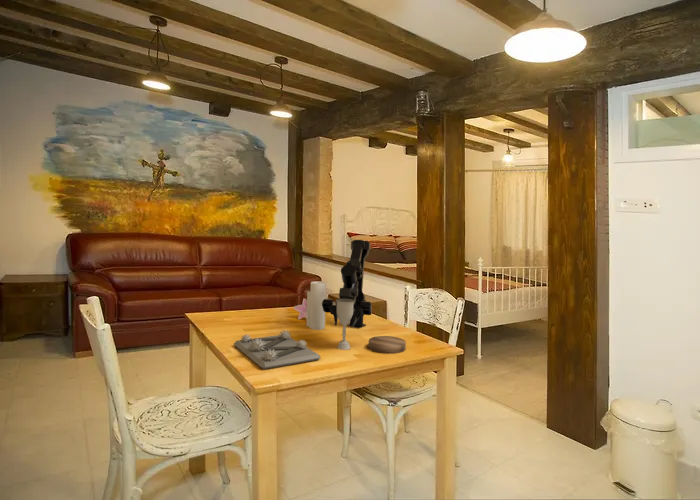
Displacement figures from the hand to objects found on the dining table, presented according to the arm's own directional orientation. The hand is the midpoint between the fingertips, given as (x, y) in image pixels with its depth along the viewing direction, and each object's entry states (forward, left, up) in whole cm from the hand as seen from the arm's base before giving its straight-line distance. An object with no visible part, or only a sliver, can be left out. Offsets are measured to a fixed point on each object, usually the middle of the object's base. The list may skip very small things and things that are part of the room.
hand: (343, 326), depth 164 cm
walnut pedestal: (-11, +12, -9) cm, 19 cm away
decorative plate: (+18, -17, -9) cm, 27 cm away
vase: (-19, -28, -9) cm, 35 cm away
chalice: (-1, -1, -9) cm, 9 cm away
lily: (-28, -39, -9) cm, 49 cm away
